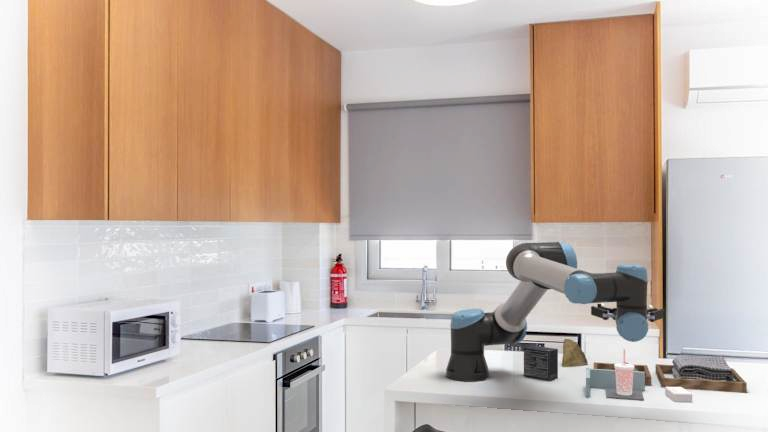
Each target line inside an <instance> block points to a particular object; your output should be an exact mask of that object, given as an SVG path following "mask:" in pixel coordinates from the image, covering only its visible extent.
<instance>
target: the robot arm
mask: <svg viewBox="0 0 768 432" xmlns="http://www.w3.org/2000/svg"><path fill="white" fill-rule="evenodd" d="M505 267H506V269H507V272H508V273H509V275H510V276H511V277H513V279H516V280H518V281H519V283H518V285H516V287H515V289H514V290H513V292H511V294H510V295H509V297H508V299H507V300H506V301H505V302H503V303H501V304H499V305H498V306H497V307H496V308H495V309H494V311H492V312H491V311H490V312H485V311H484V310H483V309H481V308H467V309H461V310H458V311H455V312H454V313H452V315H451V318H450V327H449V328H450V357H449V360H448V363H447V366H446V368H445V376H446V378H448V379H451V380H454V381H460V382H461V381H462V382H478V381H479V382H480V381H484V380H487V379H489V378H490V370H489V367H488V363H487V360H486V357H485V347H487V346H499V345H510V346H511V345H515V344H520V343H521V342H522V341H523V340H524V339H525V337H526V335H527V330H528V323H527V322H528V321H527V317H528V316H529V314H530V313H531V311H533V309H534V308H535V307H536V305H538V303H539V301H540V300H541V299H542V298H543V296H544V295H545V294H546V293H547V291H550V290H554V291H556V292H559V293H560V294H564V296H565V297H566V298H567V300H568V301H569V302H570V303H571V304H579V305H586V304H597V306H594V305H591V307H590V315H591V316H593V317H597V318H600V319H603V320H604V321H608V320H610V318H611V319H612V320H613V321H615V327H616V331H617V333H618V335H619V337H621V338H622V339H623V340H625V341H627V342H631V343H633V342H634V343H635V342H636V343H637V342H639V341H641V340H643V339H644V338H646V336H647V334H648V331H649V323H648V321H649V322H651V323H654V322H656V321H658V320H662V319H665V309H664V308H659V309H658V308H657V307H656V308H653V307H654V306H653V305H652V304H648V302H647V301H648V300H647V299H648V284H649V281H648V272H647V271H648V270H647V267H645V266H644V265H642V264H631V263H630V264H629V263H628V264H627V263H626V264H625V263H624V264H618V265H617V266H616V271H615V272H603V273H602V272H601V273H600V272H599V273H597V272H596V273H595V272H594V273H593V272H588V271H585V270H582V269H579V268H578V257H577V254H576V251H575V249H574V248H573V246H572V245H571V244H570V243H567V242H560V241H553V242H552V241H551V242H550V241H549V242H547V241H546V242H545V241H544V242H523V243H519V244H517V245H515V246H513V248H512V249H510V251H509V252H508V253H507V256H506V259H505ZM605 303H616V304H615V305H616V307H613V308H611V307H606V306H605Z"/></svg>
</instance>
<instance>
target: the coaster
mask: <svg viewBox="0 0 768 432" xmlns="http://www.w3.org/2000/svg"><path fill="white" fill-rule="evenodd" d="M605 396H606V397H605V398H606V399H615V400H616V399H617V400H618V399H619V400H631V401H632V400H633V401H645V398H644V394H643V391H640V390H632V395H628V396H626V395H619V394H617V390H616V389H609V388H606V389H605Z"/></svg>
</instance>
